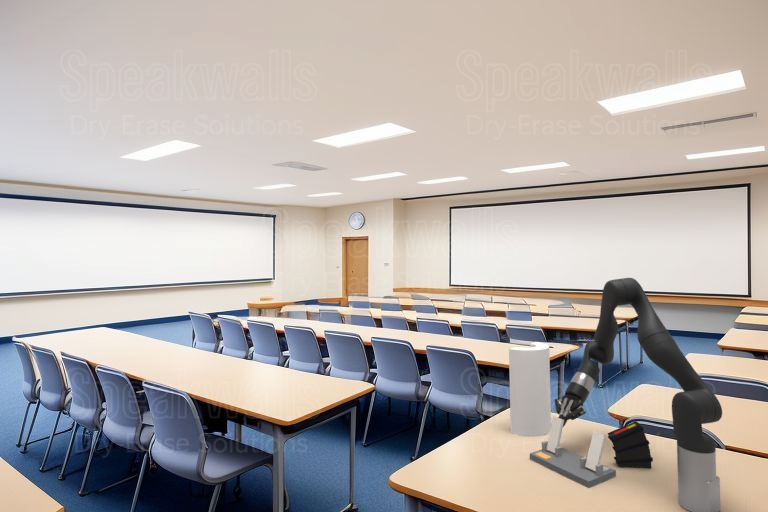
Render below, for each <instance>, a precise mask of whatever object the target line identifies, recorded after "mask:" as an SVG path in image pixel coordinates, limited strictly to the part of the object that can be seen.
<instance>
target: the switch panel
mask: <svg viewBox="0 0 768 512" xmlns="http://www.w3.org/2000/svg"><path fill="white" fill-rule="evenodd" d="M547 443H548V440H544V441H541V449H539V450H536V451H533V452H530V453H529V460H531V461H533V462H535V463H538V464H540V465H541V466H544V467H545V468H547V469H550V470H551V471H553V472H556V473H557V474H560V475H562V476H564V477H566V478H569V479H570V480H572V481H574V482H576V483H578V484H580V485H582V486H584V487H587V488H588V489H590V488H592V487H595V486H597V485H599V484H601V483H603V482H606V481H609V480H610V479H614V478H615V477H617V470H616V469H615V468H612V467H609V466H606V465H604V464H602V463H600V464H598V465H596V471H594V470H592V469H589V468H587V467H585V465H586V460H587V457H585V456H584V455H581V454H579V453H576V452H574V451H572V450H569V449H567V448H564V447H562V446H561V445H559V447H556V448H555V453H553V452H551V451H549V450H547V449H546V448H547Z"/></svg>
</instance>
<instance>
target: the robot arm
mask: <svg viewBox="0 0 768 512" xmlns="http://www.w3.org/2000/svg"><path fill="white" fill-rule="evenodd" d="M602 289H603V290H602V295H601V304H600V314H599V319H598V323H597V327H596V329H595V331H594V336H593V340H588V342H586V343H585V346H584V350H583V356H582V360H581V363H580V365H579V367H578V369H577V371H576V372H575V373H574V375H573V376H572V378H571V380H570V382H569V384H568V386H567V388H566V389H565V391H564V392H565V393H564V395H563V396H562V397H561V398H559V399H558V398H555V399H554V405H555V411H556V413H557V414H558V415H559V416H558V417H557V418H560V419H563V420H564V424H563V428H564V427H565V425H566V424H567V422H568V421H569V420H571V421H574V420H576V419H579V418H580V417H581V416H583V415H585V414H586V412H587V411H586V410H585V409H584V403H585V402H586V401H587V398H588V397H589V395H590V393H591V391H592V389H593V388H594V384H595V382H596V380H597V379H598V377H599V375H600V372H601V369H600V368H599V366H598V365H597V364H595V363H594V362H593V361H596V362H597V363H600V364H602V365H604V366H605V365H609V364H611V363H612V362H613V360H614V358H615V357H614V356H615V350H614V349H615V348H614V347H615V346H614V345H615V344H614V343H615V339H616V337H617V335H618V332H619V324H618V320H617V318H616V317H615V315H614V313H615V310H616V308H617V307H618V306H619V307H620V306H627V305H631V306H632V308H633V309H634V311H635V313H636V315H637V318H638V320H637V334H636V335H637V341H638V343H639V345H640V346H641V348H642V350H643V351H644V353H645V355H646V356H647V358H648V359H649V360H650V361H651V362H652V363H653V364H654V365H656V366H657V367H658V368H659V369H661V370H662V371H664V373H667V374H668V375H669V376H670V377H672V378H673V380H675V381H676V382H677V384H678V385H679V386H680V387H681V390H682V391H678V392H677V393H675V394H674V395H673V397H672V400H671V415H672V416H671V417H672V427H673V432H674V435H675V438H676V456H677V457H676V459H677V460H676V461H677V463H676V464H677V498H678V499H677V501H678V504H679V505H680V506H681V507H682V508H683V509H684V510H687V511H689V512H721V479H720V477H719V476H718V475H717V462H716V461H717V454H716V452H717V451H716V449H717V447H716V441H715V440H714V438H712V437H711V436H710V435H708V434H704V433H703V432H704V431H703V424H705V425H706V424H713V423H716V422H719V421H720V420H721V419H722V416H723V407H722V405H721V402H720V401H719V399H718V398H717V396H716V395H715V393H714V392H713V391H712V389H711V388H710V387H709V386H708V384H707V383H706V382H705V381H704V380H703V379H702V377H701V376H700V375H699V374H698V373H697V371H696V370H695V369H694V367H693V366H692V364H691V363H690V362H689V359H687V357H686V356H685V355H684V352H682V350H681V349H680V347H679V346H678V344H677V342H676V341H675V339H674V338H673V336H672V335H671V333H670V332H669V330H668V329H667V328H666V327H665V325H664V324H663V322H662V320H661V319H660V317H659V316H658V313H656V311H655V310H654V307H653V306H652V303H651V302H650V300H649V298H648V297H647V294H646V292H645V290H643V289H644V288H643V287H642V286H641V284H640V283H639V281H637V280H636V278H634V277H621V278H615V279H611V280H608V281H606V282H605V284H604V286H603V288H602ZM592 360H593V361H592Z"/></svg>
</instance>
